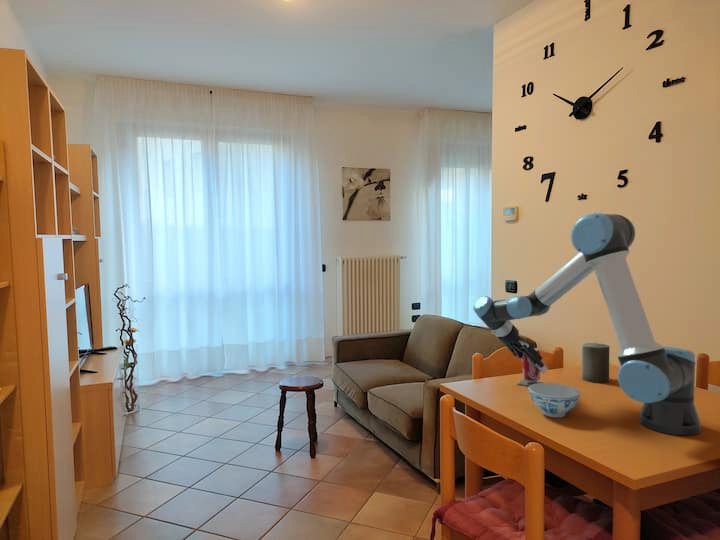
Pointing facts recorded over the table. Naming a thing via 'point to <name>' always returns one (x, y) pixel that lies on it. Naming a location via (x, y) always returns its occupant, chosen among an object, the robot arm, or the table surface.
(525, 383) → the mat
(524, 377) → the beverage can
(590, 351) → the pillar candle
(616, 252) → the robot arm
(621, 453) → the table surface
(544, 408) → the chinaware
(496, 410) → the table surface
